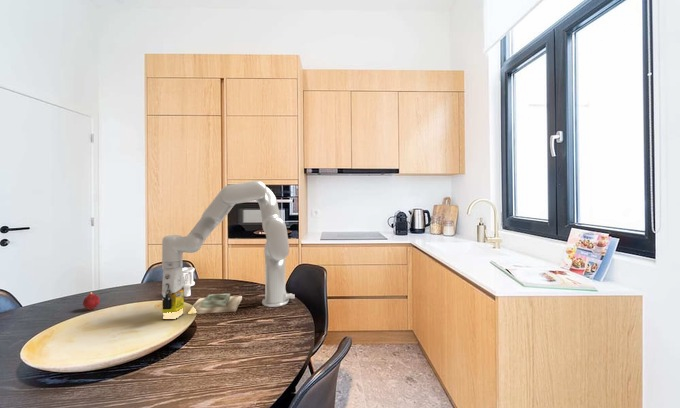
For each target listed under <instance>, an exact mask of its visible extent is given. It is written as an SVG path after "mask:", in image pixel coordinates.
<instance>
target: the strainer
mask: <svg viewBox="0 0 680 408" xmlns="http://www.w3.org/2000/svg"><path fill="white" fill-rule="evenodd" d="M182 272H183V287H182V288H183V290H184V297H186V298H187V297H190V296H191V295H192V294H191V287H192V286H195V284H196V282H195V281H194V272H195V267H182Z"/></svg>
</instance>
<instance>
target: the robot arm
mask: <svg viewBox="0 0 680 408" xmlns="http://www.w3.org/2000/svg"><path fill="white" fill-rule="evenodd" d="M252 201H253V202H254V201H256V202H257V203H258V205H259V209H260V215H261V217H260V218H261V225H262V230H263V232H264V233H265V238H266V242H265V244H264V249H263V250H264V263H265V266H264V267H265V268H264V275H265V276H264V279H265V280H264V281H265V283H264V284H265V289H264V291H265V293H264V294H265V298H263V299H262V301H261V304H262V306H264V307H269V308H276V307H283V306H285V305H287V304H288V303H289V301H290V300H289V299H295V298H296V297H295V293H294V294H293V293H288V292H287V290H286V258H287V257H288V255H289V252H290V244H289V235H288V229H287V225H286V222H285V221H284V219H282V218H281V215H280V210H279V204H278V200H277V197H276V195H275V194H274V192H273V191H272V190H271V189H270V188H269V187H268V186H266V184H265V183H264V182H262V181H261V180H252V181H247V182H241V183H235V184H229V185H225V186H223V188H221V190H220V191H219V192H218V193H217V195H216V196H215V197H214V198H213V200H212V201H211V203H210V204H209V205H208V206H207V208H206V209H204V212H203V213H202V215H201V217H200V218H199V220H198V222H197V223H196V224H195V225H194V227H193V228H192V229H191V230H190V232H189V233H188V234H187V235H186V236H182V235H179V234H169V235H165V236H163V238H162V241H161V244H162V246H161V249H162V251H161V269H162V271H163V272H162V285H161V288H162V289H161V298H162V299H161V301H162V300H163V309H171V308H172V299H171V296H172V293H176V292H177V291H179V290H182V288H184V287H183V272H182V268H184V267H183V261H184V260H183V258H184V256H183V253H186V254H188V253H189V254H193V253H198V252H199V250H200V249H201V248H202V246H203V244H204V243H205V242H206V240H207V238H208V237H209V236H210V235H211V233H212V232H213V231H214V230H215V229H216V228H217V227H218V226H220V224H221V223H222V222H223V221H224V219H225V218H227V215H229V213H230V212H231V210H232V208H234V206H235V205H237V204H243V203H248V202H252ZM168 291H171V292H168ZM168 294H169V296H168Z"/></svg>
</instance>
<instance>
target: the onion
mask: <svg viewBox="0 0 680 408" xmlns="http://www.w3.org/2000/svg"><path fill="white" fill-rule="evenodd" d="M100 303H101V299H100V297H99V296H98V295H97V294H95V293H93V292H92V291H91V292H89V294H88V295H87V296H86V297H85V298H84V299H83V301H82V306H83V307H84V308H86V310H89V311H93V310H94V309H95V308H97V307H98V306H99V304H100Z"/></svg>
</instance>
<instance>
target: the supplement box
mask: <svg viewBox="0 0 680 408" xmlns="http://www.w3.org/2000/svg"><path fill="white" fill-rule="evenodd" d="M168 292H171V291H168ZM168 296H169V294H168ZM184 297H185V296H184V289H181V290H179V291H177V292H176V293H172V296H171V299H172V308H171V309H163V300H162V299H161V302H162V303H161V304H162V307H161V309H162V310H161V311H162V313H167V312H168V313H169V312H171V313H172V312H177V311H179V310H180V309H182V308H183V307H184V308H185V306H184V305H185V303H184V302H185V300H184V299H185V298H184Z"/></svg>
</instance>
